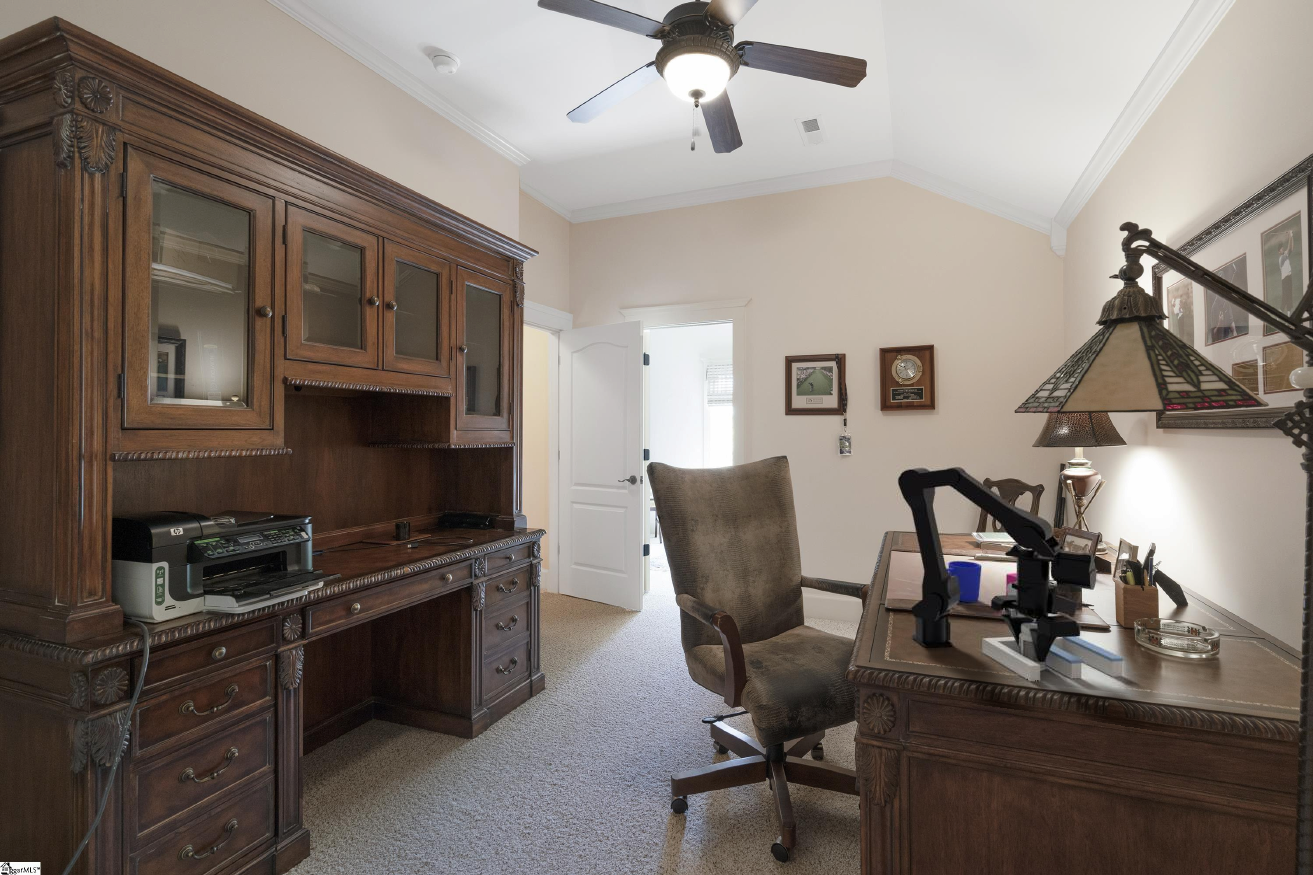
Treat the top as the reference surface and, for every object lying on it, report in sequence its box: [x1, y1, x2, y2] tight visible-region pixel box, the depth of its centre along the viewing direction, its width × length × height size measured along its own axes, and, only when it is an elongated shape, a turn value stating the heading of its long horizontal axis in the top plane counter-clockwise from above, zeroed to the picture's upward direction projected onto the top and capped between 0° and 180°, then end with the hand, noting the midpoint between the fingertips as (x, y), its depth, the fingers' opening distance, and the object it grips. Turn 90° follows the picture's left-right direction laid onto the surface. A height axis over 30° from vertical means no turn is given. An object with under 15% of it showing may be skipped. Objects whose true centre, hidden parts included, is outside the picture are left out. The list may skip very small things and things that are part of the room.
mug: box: [946, 560, 982, 603], centre depth 171 cm, size 8×12×10 cm
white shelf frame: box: [981, 636, 1124, 682], centre depth 127 cm, size 19×15×4 cm
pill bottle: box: [1019, 623, 1047, 672], centre depth 126 cm, size 5×5×8 cm
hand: (1032, 656), depth 126 cm, fingers closed on pill bottle, 5 cm apart
